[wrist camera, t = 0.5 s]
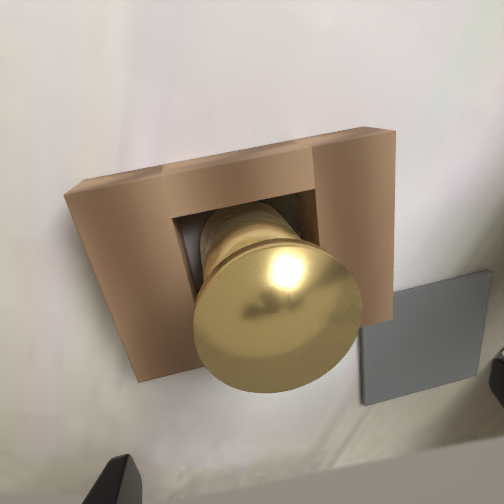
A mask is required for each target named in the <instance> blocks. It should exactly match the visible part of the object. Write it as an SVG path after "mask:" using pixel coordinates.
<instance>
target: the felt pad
mask: <svg viewBox="0 0 504 504" xmlns="http://www.w3.org/2000/svg"><path fill="white" fill-rule="evenodd" d="M491 280H492V272H491V271H489V270H485V271H481V272H477V273H473V274H469V275H465V276H461V277H456V278H452V279H448V280H444V281H440V282H436V283H432V284H427V285H423V286H419V287H415V288H411V289H407V290H403V291H398V292H394V293H393V319H392V320H388V321H384V322H380V323H376V324H372V325H368V326H364V327H360V333H361V366H362V398H363V403H364V405H365V406H368V405H372V404H375V403H379V402H383V401H386V400H390V399H393V398H397V397H401V396H404V395H408V394H412V393H415V392H419V391H423V390H426V389H430V388H434V387H437V386H441V385H445V384H448V383H452V382H456V381H459V380H463V379H467V378H470V377H474V376H477V370H478V364H479V357H480V351H481V344H482V338H483V331H484V325H485V319H486V312H487V306H488V299H489V293H490V286H491Z"/></svg>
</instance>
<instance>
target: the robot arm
mask: <svg viewBox="0 0 504 504" xmlns="http://www.w3.org/2000/svg"><path fill="white" fill-rule="evenodd" d="M489 386H490V389H491V391H492V393H493V394H494V395H495V397H496V398H497V400H498V401H499V402H500V404H501V405H502V406H503V408H504V356H501V357H497V358H494V360H493V361H492V365H491V370H490V376H489ZM82 504H142V479H141V475H140V473H139V471H138V469H137V467H136V464H135V462H134V460H133V458H132V456H131V455H130V454H125V455H121V456H117V457H114V458H112V459H111V460H110V461H109V462H108V463H107V465H106V466H105V468H104V470H103V471H102V473H101V474H100V476H99V478H98V479H97V481H96V482H95V484H94V485H93V487H92V489H91V490H90V492H89V493H88V495H87V496H86V498H85V500H84V501H83V503H82Z"/></svg>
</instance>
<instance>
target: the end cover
mask: <svg viewBox="0 0 504 504" xmlns="http://www.w3.org/2000/svg"><path fill="white" fill-rule="evenodd" d="M200 252H201V262H202V272H203V282H204V283H203V284H202V286H201V288H200V290H199V293H198V295H197V298H196V302H195V305H194V313H193V322H194V341H195V346H196V349H197V352H198V355H199V357H200V359H201V360H202V362H203V364H204V365H205V367H206V368H207V369H208V370H209V371H210V372H211V373H212V374H213V375H214V376H215V377H216V378H218V379H219V380H220V381H222V382H223V383H225V384H227V385H229V386H231V387H234V388H237V389H240V390H243V391H248V392H254V393H277V392H283V391H288V390H292V389H295V388H298V387H301V386H304V385H306V384H308V383H311V382H312V381H314V380H316V379H318V378H320V377H321V376H323V375H324V374H326V373H327V372H328V371H329V370H331V369H332V368H333V367H334V366H335V365H336V364H337V363H338V362H339V361H340V360H341V359H342V358H343V357H344V356H345V354H346V353H347V352H348V351H349V349H350V347H351V346H352V344H353V343H354V340H355V338H356V336H357V334H358V331H359V328H360V325H361V319H362V298H361V294H360V290H359V288H358V285H357V283H356V281H355V279H354V278H353V276H352V275H351V273H350V272H349V271H348V270H347V269H346V268H345V267H344V266H343V265H342V264H341V263H340V262H339V261H338V260H337V259H336V258H335V256H333V255H332V254H331V253H330V252H328V251H327V250H325V249H324V248H322V247H320V246H318V245H316V244H313V243H311V242H308V241H304V240H302V239H301V238H300V237H299V236H298V234H297V233H296V232H295V231H294V230H293V229H292V227H291V226H290V225H289V224H288V223H287V222H286V220H285V219H284V218H283V217H282V216H281V215H280V214H279V212H278V211H277V210H275V209H274V208H273V207H271V206H269V205H268V204H265V203H263V202H260V201H253V202H248V203H243V204H238V205H234V206H229V207H224V208H220V209H218V210H217V211H216V212H215V213H214V214H213V215H212V216H211V217H210V218H209V219H208V221H207V222H206V224H205V226H204V228H203V231H202V234H201V238H200Z"/></svg>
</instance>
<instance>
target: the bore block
mask: <svg viewBox="0 0 504 504" xmlns="http://www.w3.org/2000/svg"><path fill="white" fill-rule="evenodd" d="M395 152H396V131H393V130H386V129H378V128H370V127H359V128H353V129H348V130H343V131H338V132H332V133H327V134H322V135H317V136H311V137H306V138H301V139H296V140H290V141H285V142H280V143H275V144H269V145H264V146H259V147H254V148H248V149H243V150H238V151H233V152H227V153H222V154H217V155H212V156H206V157H201V158H196V159H191V160H185V161H180V162H175V163H170V164H164V165H159V166H154V167H149V168H143V169H138V170H133V171H128V172H122V173H117V174H112V175H107V176H101V177H96V178H91V179H86V180H83V181H82V182H80V183H79V184H78V185H76V186H75V187H74V188H72V189H71V190H70V191H68V192H67V193H66V194H64V198H65V200H66V203H67V205H68V208H69V210H70V213H71V215H72V218H73V220H74V223H75V225H76V228H77V230H78V233H79V235H80V238H81V240H82V243H83V245H84V248H85V251H86V253H87V256H88V258H89V261H90V263H91V266H92V268H93V271H94V273H95V276H96V278H97V281H98V283H99V286H100V288H101V291H102V293H103V296H104V298H105V301H106V303H107V306H108V308H109V311H110V313H111V316H112V318H113V321H114V323H115V326H116V328H117V331H118V333H119V336H120V338H121V341H122V343H123V346H124V348H125V351H126V353H127V356H128V358H129V361H130V363H131V366H132V368H133V371H134V373H135V376H136V378H137V381H138V383H140V382H144V381H148V380H152V379H156V378H160V377H164V376H168V375H172V374H176V373H180V372H184V371H188V370H192V369H196V368H200V367H204V366H205V365H204V364H203V362H202V360H201V359H200V357H199V355H198V352H197V349H196V346H195V341H194V322H193V313H194V305H195V302H196V298H197V295H198V292H197V288H196V284H195V280H194V276H193V273H192V269H191V265H190V261H189V257H188V254H187V250H186V246H185V242H184V238H183V235H182V231H181V227H180V223H179V219H178V217H180V216H185V215H190V214H195V213H200V212H204V211H209V210H214V209H219V208H224V207H229V206H234V205H238V204H243V203H248V202H253V201H258V200H263V199H268V198H272V197H277V196H282V195H287V194H292V193H297V195H298V204H299V214H300V223H301V233H302V240H304V241H308V242H311V243H313V244H316V245H318V246H320V247H322V248H324V249H325V250H327V251H328V252H330V253H331V254H332V255H333V256H335V258H336V259H337V260H338V261H339V262H340V263H341V264H342V265H343V266H344V267H345V268H346V269H347V270H348V271H349V272H350V273H351V275H352V276H353V278H354V279H355V281H356V283H357V285H358V288H359V290H360V294H361V298H362V319H361V325H360V327H364V326H368V325H372V324H376V323H380V322H384V321H388V320H392V319H393V268H394V210H395Z"/></svg>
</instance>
